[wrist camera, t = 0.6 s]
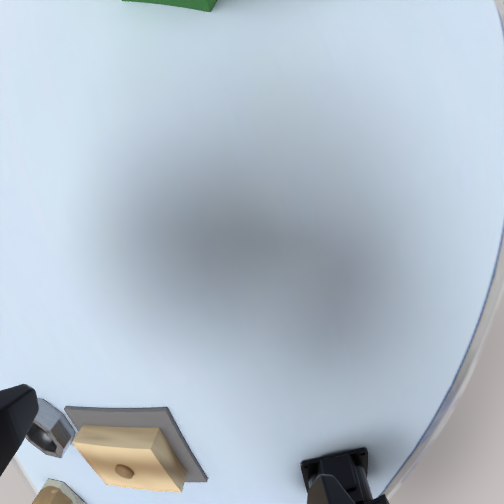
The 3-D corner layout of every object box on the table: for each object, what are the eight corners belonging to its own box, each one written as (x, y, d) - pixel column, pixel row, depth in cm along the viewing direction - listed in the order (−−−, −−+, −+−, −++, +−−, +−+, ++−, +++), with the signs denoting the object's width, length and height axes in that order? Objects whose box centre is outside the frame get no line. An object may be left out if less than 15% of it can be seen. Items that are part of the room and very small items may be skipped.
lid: (186, 472, 24) (180, 496, 21) (114, 467, 25) (104, 487, 22) (159, 427, 23) (148, 453, 20) (83, 424, 24) (69, 445, 20)
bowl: (83, 443, 25) (72, 460, 22) (47, 437, 26) (36, 452, 23) (54, 400, 24) (40, 417, 21) (20, 396, 24) (7, 410, 21)
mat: (207, 478, 25) (207, 482, 25) (113, 473, 26) (112, 475, 26) (167, 407, 23) (165, 411, 22) (66, 406, 24) (63, 409, 23)
